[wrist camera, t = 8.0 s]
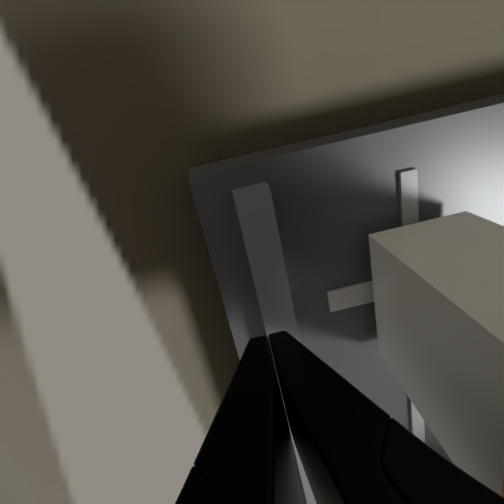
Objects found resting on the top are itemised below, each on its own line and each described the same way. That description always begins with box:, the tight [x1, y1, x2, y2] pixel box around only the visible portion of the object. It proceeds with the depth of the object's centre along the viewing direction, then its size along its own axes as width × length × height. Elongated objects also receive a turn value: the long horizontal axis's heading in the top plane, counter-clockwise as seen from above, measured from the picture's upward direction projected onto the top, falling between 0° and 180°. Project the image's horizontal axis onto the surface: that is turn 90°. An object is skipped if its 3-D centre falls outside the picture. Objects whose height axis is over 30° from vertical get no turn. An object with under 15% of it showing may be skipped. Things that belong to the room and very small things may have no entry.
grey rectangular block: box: [368, 211, 504, 498], centre depth 7 cm, size 2×4×5 cm, turn 12°
